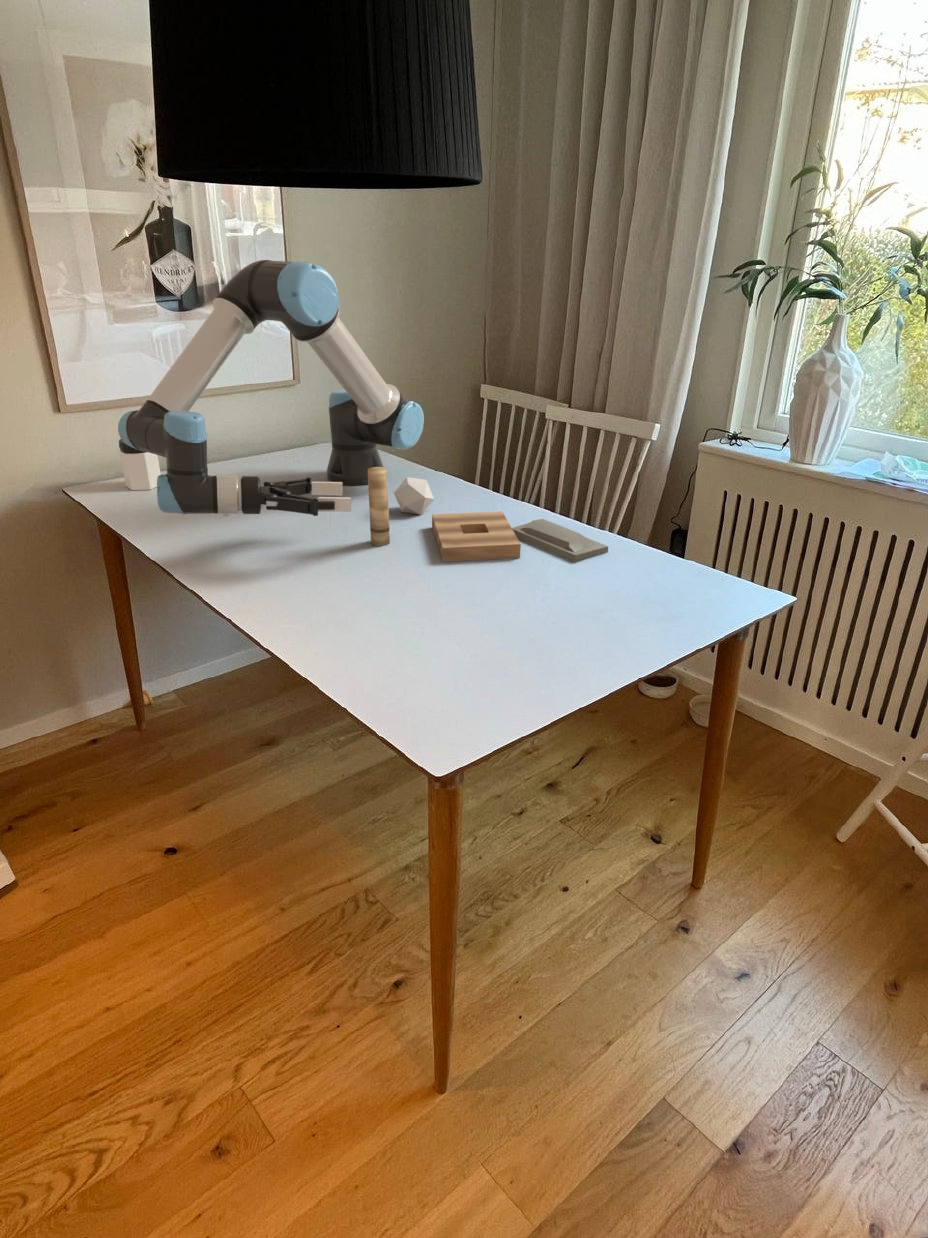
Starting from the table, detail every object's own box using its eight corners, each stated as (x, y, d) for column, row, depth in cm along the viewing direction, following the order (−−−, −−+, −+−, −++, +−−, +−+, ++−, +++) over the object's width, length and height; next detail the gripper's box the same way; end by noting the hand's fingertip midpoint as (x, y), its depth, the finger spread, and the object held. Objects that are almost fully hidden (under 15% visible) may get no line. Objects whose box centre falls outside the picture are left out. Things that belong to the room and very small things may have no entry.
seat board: (432, 527, 179) (431, 514, 177) (501, 524, 181) (502, 511, 180) (442, 561, 161) (442, 547, 160) (520, 557, 163) (520, 544, 162)
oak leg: (370, 539, 172) (366, 467, 164) (389, 538, 172) (386, 466, 165) (371, 546, 168) (367, 472, 161) (390, 545, 169) (387, 472, 161)
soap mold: (574, 566, 161) (575, 550, 160) (508, 537, 175) (508, 522, 173) (608, 554, 167) (609, 538, 165) (542, 527, 181) (542, 512, 179)
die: (439, 511, 190) (425, 474, 191) (435, 505, 181) (420, 466, 182) (407, 524, 191) (393, 487, 191) (402, 518, 182) (387, 479, 183)
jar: (143, 479, 209) (134, 433, 203) (168, 482, 206) (161, 436, 201) (119, 488, 201) (109, 441, 196) (145, 492, 199) (136, 445, 193)
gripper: (239, 498, 171) (338, 499, 177) (241, 530, 149) (354, 530, 155) (238, 463, 169) (339, 465, 174) (240, 491, 146) (355, 492, 152)
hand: (346, 496), depth 165 cm, fingers open, 13 cm apart
